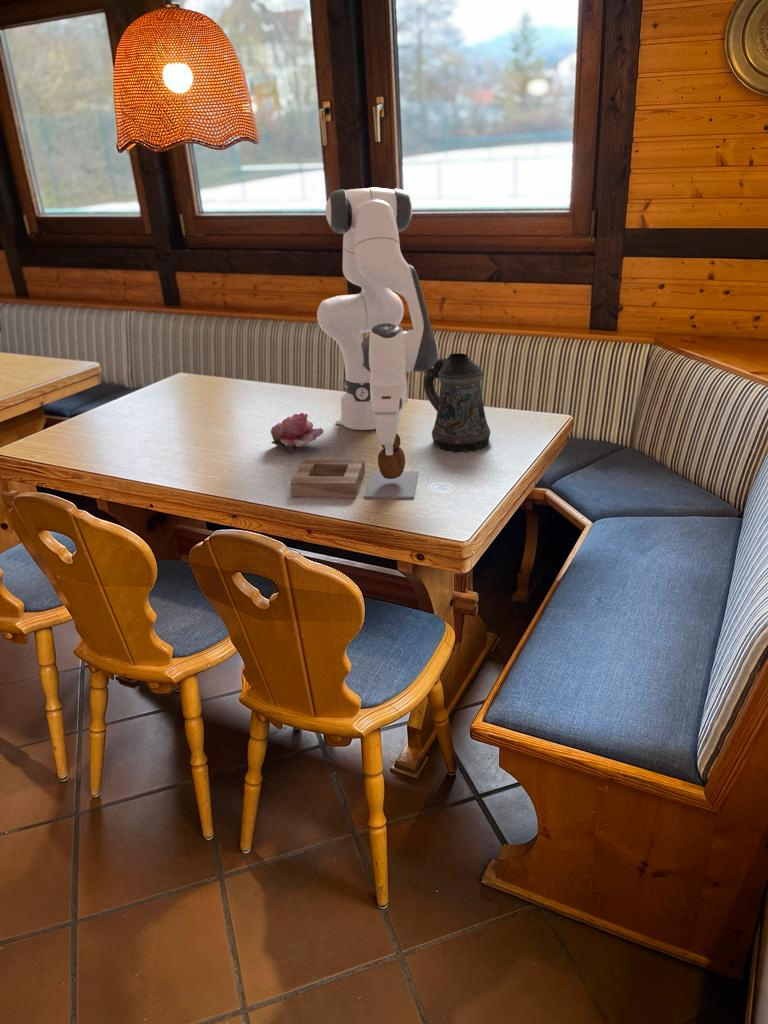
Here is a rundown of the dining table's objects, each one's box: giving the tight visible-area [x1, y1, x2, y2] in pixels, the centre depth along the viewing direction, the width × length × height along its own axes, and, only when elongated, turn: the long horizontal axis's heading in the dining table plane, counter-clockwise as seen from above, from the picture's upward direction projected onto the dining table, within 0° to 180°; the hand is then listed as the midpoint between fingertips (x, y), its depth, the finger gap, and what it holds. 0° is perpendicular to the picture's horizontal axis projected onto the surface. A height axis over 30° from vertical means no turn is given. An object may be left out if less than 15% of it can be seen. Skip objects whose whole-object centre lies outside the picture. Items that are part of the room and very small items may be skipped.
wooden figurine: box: [377, 433, 406, 479], centre depth 185 cm, size 7×6×15 cm
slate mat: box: [363, 470, 420, 500], centre depth 189 cm, size 16×12×1 cm
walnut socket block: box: [289, 457, 366, 499], centre depth 190 cm, size 16×16×4 cm
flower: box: [270, 412, 324, 454], centre depth 214 cm, size 15×15×10 cm
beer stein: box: [423, 352, 491, 453], centre depth 210 cm, size 16×19×25 cm
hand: (391, 449), depth 185 cm, fingers closed on wooden figurine, 5 cm apart
